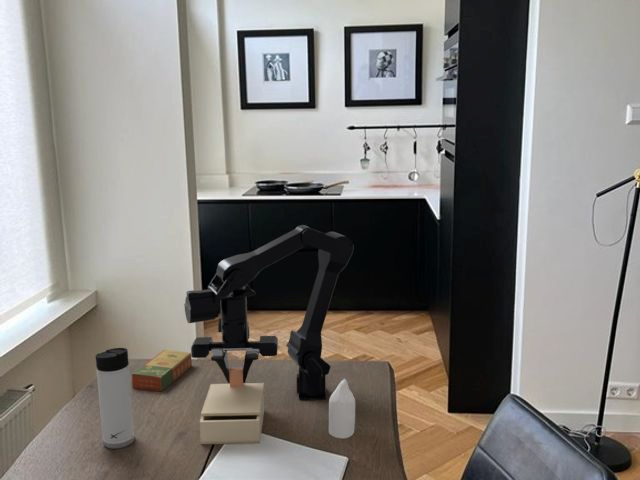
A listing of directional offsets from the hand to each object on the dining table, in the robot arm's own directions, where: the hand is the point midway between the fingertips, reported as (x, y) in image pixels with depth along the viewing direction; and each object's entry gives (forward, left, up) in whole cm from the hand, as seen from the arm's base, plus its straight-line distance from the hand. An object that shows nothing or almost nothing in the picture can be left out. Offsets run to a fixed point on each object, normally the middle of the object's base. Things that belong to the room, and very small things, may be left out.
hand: (236, 382), depth 141 cm
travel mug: (+23, +13, -7) cm, 27 cm away
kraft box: (0, +8, -7) cm, 10 cm away
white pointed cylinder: (-23, +11, -7) cm, 26 cm away
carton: (+21, -19, -7) cm, 29 cm away
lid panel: (0, +6, -1) cm, 6 cm away
